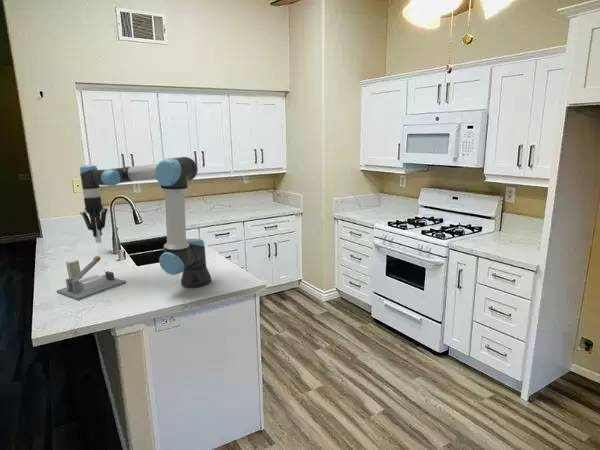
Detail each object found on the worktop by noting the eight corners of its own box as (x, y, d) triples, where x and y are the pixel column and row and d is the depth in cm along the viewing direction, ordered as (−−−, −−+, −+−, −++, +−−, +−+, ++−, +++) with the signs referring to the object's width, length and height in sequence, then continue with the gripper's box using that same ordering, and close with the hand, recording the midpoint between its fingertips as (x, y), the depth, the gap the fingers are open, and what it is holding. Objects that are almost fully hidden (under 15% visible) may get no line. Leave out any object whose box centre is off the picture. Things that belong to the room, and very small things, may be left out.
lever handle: (101, 258, 201) (99, 256, 200) (76, 282, 192) (74, 280, 191) (98, 257, 203) (96, 255, 202) (73, 281, 193) (71, 279, 192)
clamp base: (126, 283, 205) (124, 269, 203) (78, 300, 185) (75, 285, 183) (104, 277, 216) (102, 263, 214) (56, 292, 195) (54, 278, 194)
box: (79, 277, 216) (75, 258, 213) (82, 279, 213) (79, 260, 211) (68, 280, 212) (65, 261, 209) (72, 282, 209) (68, 262, 207)
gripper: (100, 194, 201) (106, 238, 206) (74, 197, 190) (81, 244, 196) (109, 195, 197) (114, 240, 202) (83, 199, 186) (89, 246, 192)
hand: (98, 242), depth 199 cm, fingers closed
